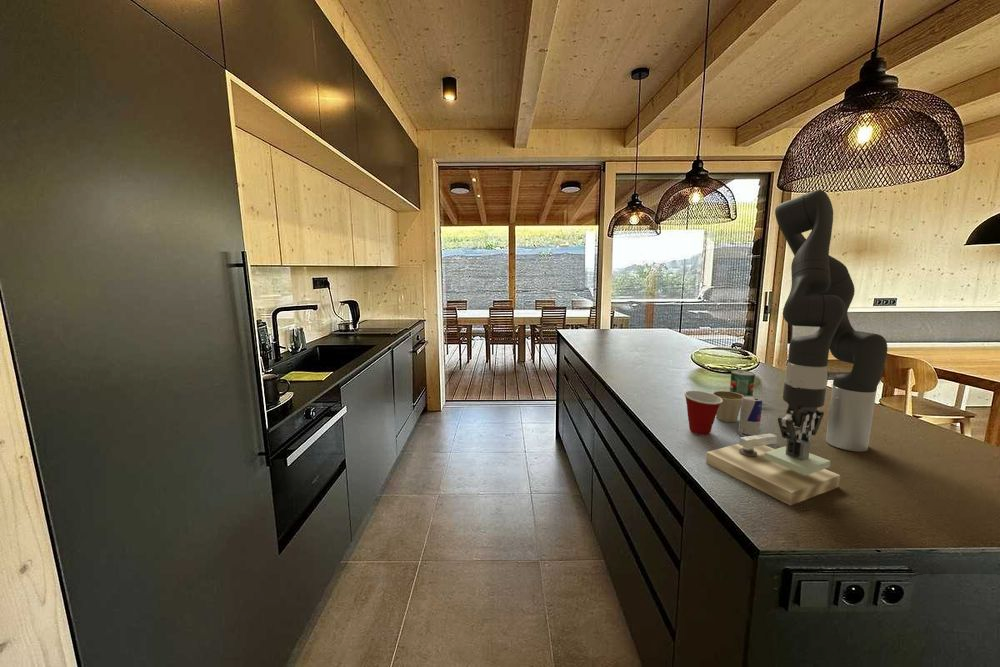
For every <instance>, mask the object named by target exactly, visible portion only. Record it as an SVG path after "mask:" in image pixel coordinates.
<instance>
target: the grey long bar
mask: <svg viewBox="0 0 1000 667" xmlns="http://www.w3.org/2000/svg"><path fill="white" fill-rule="evenodd" d="M777 442H778V435H776V434H773V433H771V432H770V433H763V434H762V433H760V434H759V435H754V436H747V437H743V436H741V437H739V443H738V444H739V445H741V446H743V451H745V452H748V453H753V452H754V447H755V446H762V445H766V446H768V445H774V444H777Z"/></svg>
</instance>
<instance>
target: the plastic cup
mask: <svg viewBox="0 0 1000 667" xmlns="http://www.w3.org/2000/svg"><path fill="white" fill-rule="evenodd" d="M684 397H685V403H686V409H687V419H688V420H687V421H688V425H689V427H688V428H689V431H690V432H691V433H693V434H695V435H699V436H709V435H710V434H711V432H712V428H713V425H714V423H715V419H716V413H717V410H718V408H719V406H720V404H721V403H722V402H723V399H721V398H720V397H718V396H716V395H714V394H713V393H710V392H705V391H701V390H686V391H685V392H684Z"/></svg>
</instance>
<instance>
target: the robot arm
mask: <svg viewBox="0 0 1000 667" xmlns="http://www.w3.org/2000/svg"><path fill="white" fill-rule="evenodd" d="M774 215H775V219H776V223H777V225H778V228H779V229H780V231H781V233H782V235H783V237H784V238H785V240H786V242H787V245H788V247H789V249H790V250H791V252H792V254H793V256H794V257H793V259H792V262H791V267H790V268H791V270H790V271H791V274H790V275H791V285H790V286H791V287H790V291H789V294H788V297H787V298H786V301H785V303H784V306H783V309H782V316H783V319H784V321H785V322H786V323H787V324H789V325H790V326H794V327H812V328H819V329H818V330H817V331H816V332H815V333H813V334H809V335H801V336H795V337H793V338H791V340H790V341H789V345H788V347H789V348H788V354H787V355H788V357H787V358H788V359H787V364H786V368H785V373H784V382H783V392H782V393H783V394H782V399H783V401H784V402H786V403H787V409H786V412H785V414H786V415H785V416H784V417H782V416H779V417H777V423H778V427H779V430H780V434H781V437H782V438H783V439H786V440H787V439H788V440H789V442H788V452H787V453H788V454H789V455H791V456H793V457H799V454H800V445H801V439H802V440H805V441H808V442H810V440H811V439H812V436H816V435H817V433H818V430H819V428H820V425H821V422H822V420H823V418H824V416H825V415H824V414H825V412H824V411H822V410H819V409H818V408H821V407H823V406H824V405H825V399H826V393H827V392H826V391H827V385H828V384H827V383H828V363H829V353H831V355H832V356H833V357H834V358H835V359H836V360H838V361H841V362H844V363H849V364H852V369H851V371H850V372H849V373H840V374H839V373H838V374H835V375H834V377H833V380H832V388H831V396H830V397H831V398H830V403H829V411H828V412H829V413H828V418H827V428H826V434H825V443H827V444H829V445H831V446H832V447H836V448H838V449H842V450H844V451H845V450H846V451H850V452H859V453H860V452H862V453H863V452H867V451H868V450H869V442H870V438H871V437H870V436H871V429H872V424H873V417H874V409H875V404H876V395H877V389H878V385H879V384H880V382H881V381H882V378H883V373H884V368H885V363H886V360H887V356H888V343H887V341H886V338H885V337H884V336H883V335H881V334H878V333H874V332H873V333H872V332H865V331H858V330H856V329H854V328H853V326H852V324H851V322H850V320H849V314H848V310H849V308H850V306H851V303H852V301H853V299H854V296H855V284H854V282H853V279H852V276H851V275H850V272H849V269H848V267H847V266H846V265H845V264H844V263H843V262H842V261H840V260H838V259H837V258H835V257H833V256H831V255H830V247H831V246H830V245H831V239H832V233H833V232H832V231H833V225H834V224H833V222H834V208H833V204H832V201H831V199H830V197H829V195H828V193H827V192H826V191H824V190H822V189H816V190H813V191H810V192H806V193H804V194H801V195H799V196H797V197H794V198H791V199H788V200H786V201H784V202H782V203H779V204H778V205H777V206H776V207H775V210H774ZM805 232H810V233H809V234H808V236H807V238H806V237H805V236H804V235H803V233H805Z"/></svg>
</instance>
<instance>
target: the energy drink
mask: <svg viewBox="0 0 1000 667" xmlns="http://www.w3.org/2000/svg"><path fill="white" fill-rule="evenodd" d="M762 410H763V400H762V398H761V397H758V396H755V395H753V396H743V398H742V400H741V407H740V411H739V421H738V424H739V425H738V434H739V436H741V437H747V436H754V435H760V432H761V430H760V429H761V419H762Z"/></svg>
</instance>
